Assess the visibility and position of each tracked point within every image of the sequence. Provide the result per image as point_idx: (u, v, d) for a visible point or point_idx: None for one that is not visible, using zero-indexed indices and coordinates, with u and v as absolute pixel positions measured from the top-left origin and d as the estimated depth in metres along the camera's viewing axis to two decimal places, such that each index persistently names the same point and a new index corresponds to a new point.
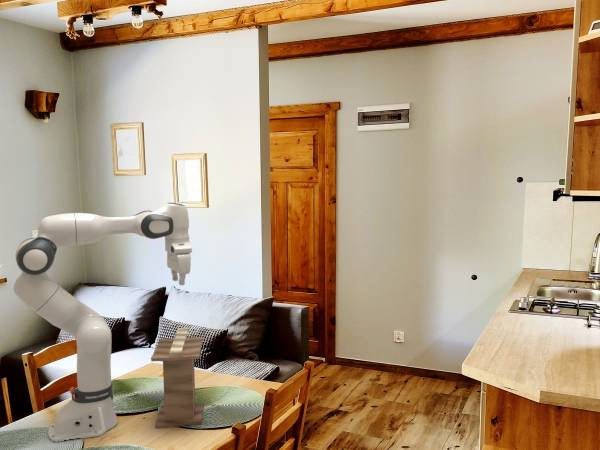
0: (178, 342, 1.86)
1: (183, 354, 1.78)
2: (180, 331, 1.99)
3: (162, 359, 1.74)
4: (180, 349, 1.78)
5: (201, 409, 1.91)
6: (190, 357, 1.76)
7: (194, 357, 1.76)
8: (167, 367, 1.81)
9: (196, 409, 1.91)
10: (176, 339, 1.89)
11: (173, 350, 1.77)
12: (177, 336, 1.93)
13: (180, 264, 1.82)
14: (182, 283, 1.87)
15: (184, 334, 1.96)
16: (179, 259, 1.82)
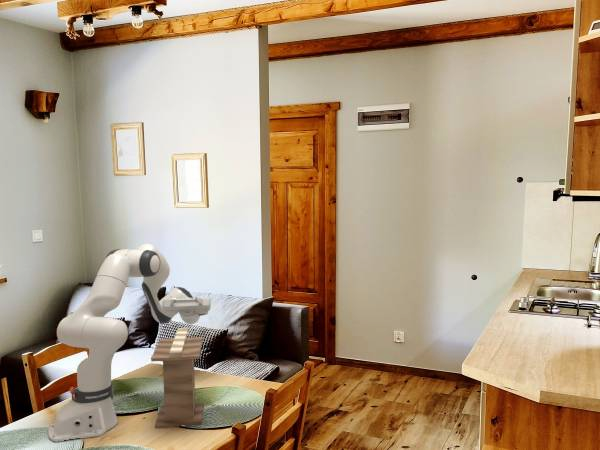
0: (178, 342, 1.86)
1: (183, 354, 1.78)
2: (180, 331, 1.99)
3: (162, 359, 1.74)
4: (180, 349, 1.78)
5: (201, 409, 1.91)
6: (190, 357, 1.76)
7: (194, 357, 1.76)
8: (167, 367, 1.81)
9: (196, 409, 1.91)
10: (176, 339, 1.89)
11: (173, 350, 1.77)
12: (177, 336, 1.93)
13: None
14: (198, 299, 2.14)
15: (184, 334, 1.96)
16: None
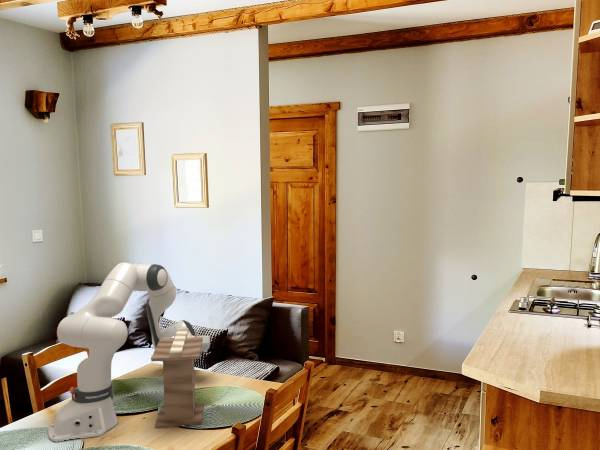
0: (178, 342, 1.86)
1: (183, 354, 1.78)
2: (180, 331, 1.99)
3: (162, 359, 1.74)
4: (180, 349, 1.78)
5: (201, 409, 1.91)
6: (190, 357, 1.76)
7: (194, 357, 1.76)
8: (167, 367, 1.81)
9: (196, 409, 1.91)
10: (176, 339, 1.89)
11: (173, 350, 1.77)
12: (177, 336, 1.93)
13: None
14: None
15: (184, 334, 1.96)
16: None
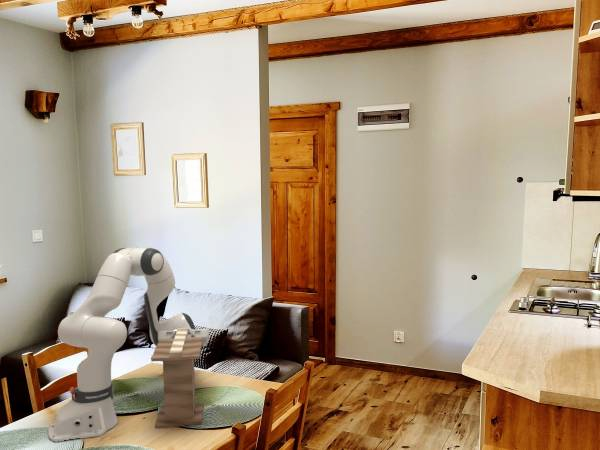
0: (178, 342, 1.86)
1: (183, 354, 1.78)
2: (180, 331, 1.99)
3: (162, 359, 1.74)
4: (180, 349, 1.78)
5: (201, 409, 1.91)
6: (190, 357, 1.76)
7: (194, 357, 1.76)
8: (167, 367, 1.81)
9: (196, 409, 1.91)
10: (176, 339, 1.89)
11: (173, 350, 1.77)
12: (177, 336, 1.93)
13: None
14: (191, 331, 2.02)
15: (184, 334, 1.96)
16: None
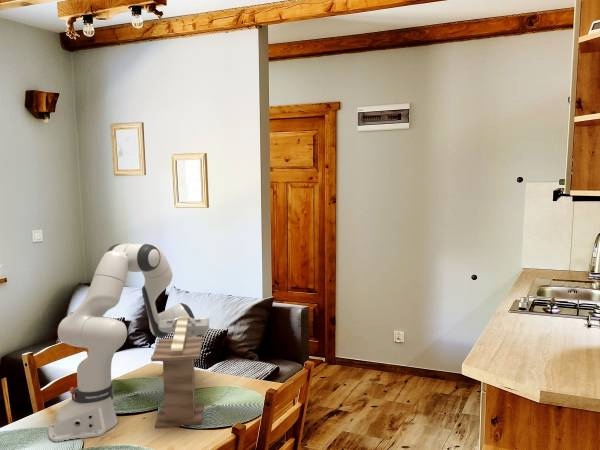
0: (179, 336, 1.88)
1: (183, 354, 1.78)
2: (180, 321, 2.01)
3: (162, 359, 1.74)
4: (181, 346, 1.80)
5: (201, 409, 1.91)
6: (190, 357, 1.76)
7: (194, 357, 1.76)
8: (167, 367, 1.81)
9: (196, 409, 1.91)
10: (176, 332, 1.91)
11: (174, 348, 1.78)
12: (178, 328, 1.94)
13: None
14: (191, 320, 2.03)
15: (185, 325, 1.97)
16: None
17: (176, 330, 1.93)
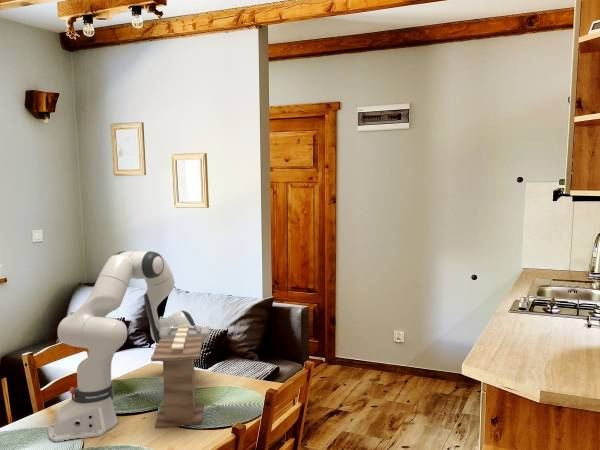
0: (179, 339, 1.90)
1: (183, 354, 1.78)
2: (181, 328, 2.03)
3: (162, 359, 1.74)
4: (181, 345, 1.82)
5: (201, 409, 1.91)
6: (190, 357, 1.76)
7: (194, 357, 1.76)
8: (167, 367, 1.81)
9: (196, 409, 1.91)
10: (177, 336, 1.93)
11: (175, 347, 1.81)
12: (178, 333, 1.97)
13: None
14: (197, 327, 2.06)
15: (185, 331, 2.00)
16: None
17: (177, 334, 1.95)
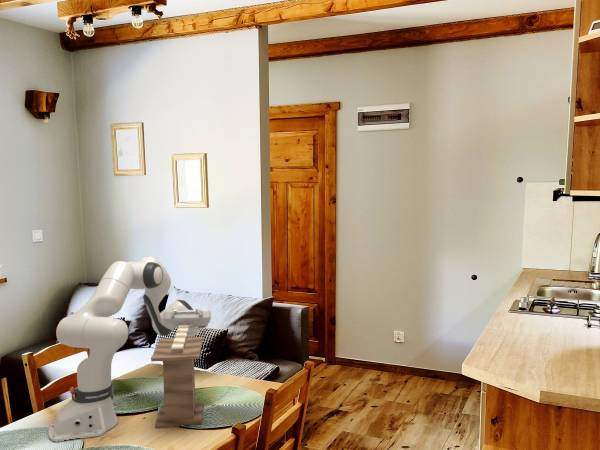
0: (179, 339, 1.90)
1: (183, 354, 1.78)
2: (181, 328, 2.03)
3: (162, 359, 1.74)
4: (181, 345, 1.82)
5: (201, 409, 1.91)
6: (190, 357, 1.76)
7: (194, 357, 1.76)
8: (167, 367, 1.81)
9: (196, 409, 1.91)
10: (177, 336, 1.93)
11: (175, 347, 1.81)
12: (178, 333, 1.97)
13: None
14: (199, 311, 2.18)
15: (185, 331, 2.00)
16: None
17: (177, 334, 1.95)
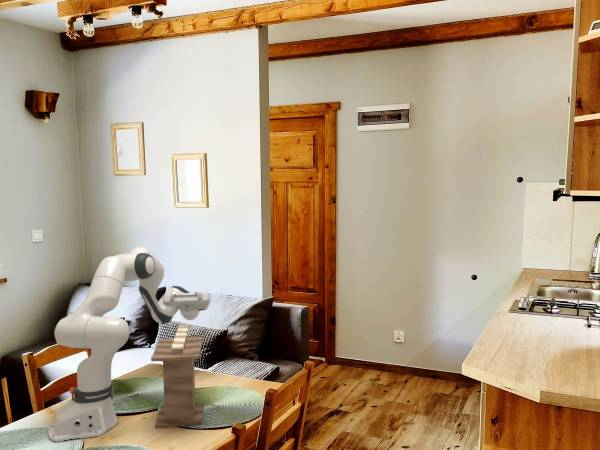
0: (179, 339, 1.90)
1: (183, 354, 1.78)
2: (181, 328, 2.03)
3: (162, 359, 1.74)
4: (181, 345, 1.82)
5: (201, 409, 1.91)
6: (190, 357, 1.76)
7: (194, 357, 1.76)
8: (167, 367, 1.81)
9: (196, 409, 1.91)
10: (177, 336, 1.93)
11: (175, 347, 1.81)
12: (178, 333, 1.97)
13: None
14: (198, 294, 2.18)
15: (185, 331, 2.00)
16: None
17: (177, 334, 1.95)
